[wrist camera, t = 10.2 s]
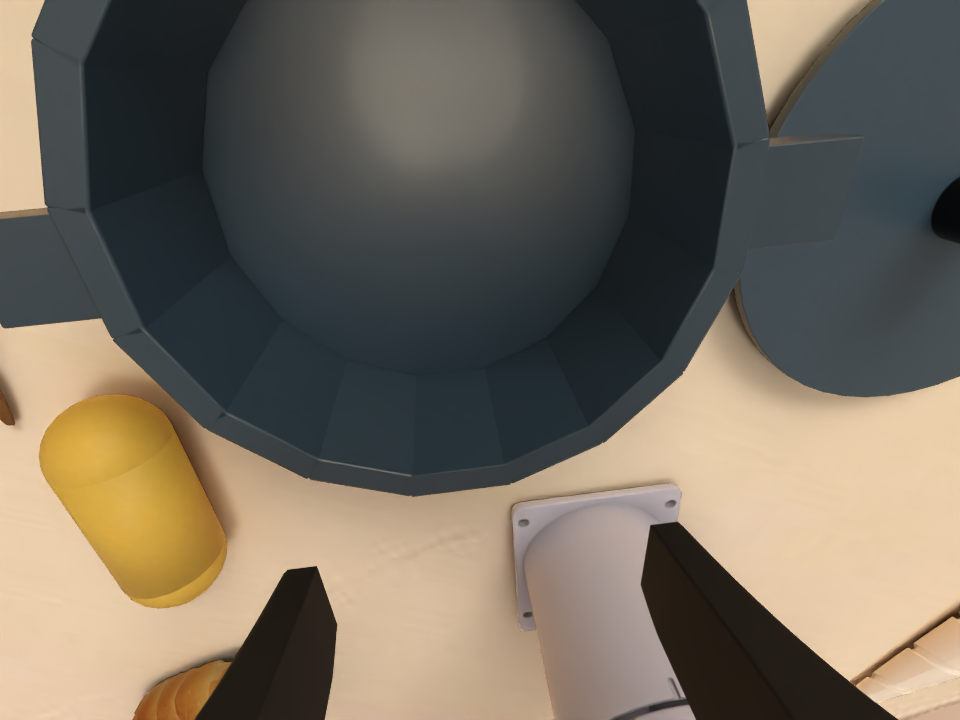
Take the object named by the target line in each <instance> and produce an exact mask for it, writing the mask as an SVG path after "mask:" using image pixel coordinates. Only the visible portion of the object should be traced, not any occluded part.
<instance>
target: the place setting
mask: <svg viewBox="0 0 960 720" xmlns="http://www.w3.org/2000/svg"><path fill="white" fill-rule="evenodd" d="M0 420H1V421H2V422H3V423H5V424H6V425H15V421H14V417H13V414H12V412H11V410H10V407H9V405H8V403H7V402H6V400H5V398H4V396H3V395H2V393H1V391H0Z"/></svg>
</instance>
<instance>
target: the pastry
mask: <svg viewBox="0 0 960 720" xmlns="http://www.w3.org/2000/svg"><path fill="white" fill-rule="evenodd" d="M231 663H232V662H223V660H218V661H215V662H212V663H207V664H205V665H204V666H202V667H200V668H195V669H192V668H191V669H190V670H189V671H187V672H185V673H182V672H180V673H179V674H178V675H175V676H173V677H170V678H168V679H166V680H165V681H163V682H162V683H160V684H158V685H156V686H155V687H154V688H153V689H152V690H151V691H150V692H149V693H148V694H146V695H145V696H144V697H143V699H142V700H141V702H140V704H139V705H138V707H137V709H136V711H135V716H134V718H133V720H194V719H195V718H196V716H197V715H198V713H199V712H200V710H201V709H202V707H203V706H204V704H205V703H206V701H207V700H208V698H209V697H210V695H211V694H212V692H213V691H214V689H215V688H216V686H217V685H218V683H219V682H220V680H221V678H222V677H223V675H224V674H225V672H226V670H227V669H228V667H229V666H230V664H231Z"/></svg>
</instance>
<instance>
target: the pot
mask: <svg viewBox="0 0 960 720" xmlns="http://www.w3.org/2000/svg"><path fill="white" fill-rule="evenodd" d="M32 37H33V38H34V39H32V41H31V45H32V57H33V69H34V80H35V92H36V104H37V116H38V128H39V140H40V152H41V164H42V176H43V187H44V199H45V205H46V206H48V207H47V208H40V209H30V210H19V211H9V212H0V324H1V325H2V327H3V328H14V327H24V326H33V325H43V324H52V323H61V322H71V321H80V320H90V319H99V318H102V320H103V322H104V324H105V326H106V328H107V330H108V332H109V334H110V336H111V337H112V338H114V339H113V341H114V342H115V343H116V344H117V345H118V346H119V347H120V348H121V349H122V350H123V351H124V352H125V353H126V354H127V355H129V356H130V357H131V358H132V359H133V360H134V361H135V362H136V363H137V364H138V365H139V366H140V367H141V368H142V369H143V370H144V371H145V372H146V373H147V374H148V375H149V376H150V377H151V378H152V379H153V380H155V381H156V382H157V383H158V384H159V385H160V386H161V387H162V388H163V389H164V390H165V391H166V392H167V393H168V394H169V395H170V396H171V397H172V398H173V399H174V400H175V401H176V402H177V403H178V404H179V405H181V406H182V407H183V408H184V409H185V410H186V411H187V412H188V413H189V414H190V415H191V416H192V417H193V418H194V419H195V420H196V421H197V422H198V423H199V424H200V425H201V426H202V427H203V428H207V430H209V431H211V432H213V433H215V434H217V435H219V436H221V437H223V438H225V439H227V440H229V441H231V442H233V443H235V444H237V445H239V446H241V447H243V448H245V449H247V450H249V451H251V452H253V453H255V454H257V455H259V456H261V457H263V458H265V459H268V460H270V461H272V462H274V463H276V464H278V465H280V466H282V467H284V468H286V469H288V470H290V471H292V472H294V473H296V474H298V475H300V476H302V477H304V478H309V479H311V480H315V481H321V482H327V483H333V484H339V485H345V486H351V487H357V488H363V489H370V490H376V491H382V492H388V493H394V494H400V495H406V496H411V495H412V497H415V496H423V495H431V494H439V493H447V492H455V491H462V490H470V489H478V488H486V487H494V486H502V485H509V484H511V483H515V482H517V481H519V480H521V479H524V478H526V477H528V476H530V475H533V474H535V473H537V472H539V471H542V470H544V469H546V468H548V467H551V466H553V465H555V464H557V463H560V462H562V461H564V460H566V459H569V458H571V457H573V456H575V455H578V454H580V453H582V452H584V451H587V450H589V449H591V448H593V447H596V446H598V445H600V444H602V442H603V443H604V442H606V441H607V440H608V439H609V438H610V437H611V436H612V435H614V434H615V433H616V432H617V431H618V430H619V429H620V428H622V427H623V426H624V425H625V424H626V423H627V422H628V421H630V420H631V419H632V418H633V417H634V416H635V415H636V414H638V413H639V412H640V411H641V410H642V409H643V408H644V407H646V406H647V405H648V404H649V403H650V402H651V401H652V400H654V399H655V398H656V397H657V396H658V395H659V394H660V393H662V392H663V391H664V390H665V389H666V388H667V387H668V386H670V385H671V384H672V383H673V382H674V381H675V380H676V379H678V378H679V377H680V376H681V375H682V374H683V371H685V369H686V368H687V366H688V364H689V363H690V361H691V359H692V357H693V356H694V354H695V352H696V351H697V349H698V347H699V346H700V344H701V342H702V341H703V339H704V337H705V336H706V334H707V332H708V330H709V329H710V327H711V325H712V324H713V322H714V320H715V319H716V317H717V315H718V314H719V312H720V310H721V308H722V307H723V305H724V303H725V302H726V300H727V298H728V297H729V295H730V293H731V292H732V290H733V288H734V287H735V285H736V283H737V281H738V280H739V278H740V276H741V275H742V271H743V270H744V269H745V264H746V259H747V254H748V249H757V248H766V247H775V246H785V245H794V244H804V243H813V242H822V241H832V240H835V238H836V235H837V232H838V228H839V225H840V221H841V218H842V214H843V211H844V207H845V204H846V200H847V197H848V193H849V190H850V186H851V183H852V179H853V176H854V172H855V169H856V166H857V162H858V159H859V155H860V152H861V148H862V145H863V141H864V136H862V135H853V134H844V133H835V132H832V133H822V134H812V135H801V136H791V137H780V138H769V134H770V133H769V127H768V121H767V116H766V110H765V104H764V98H763V92H762V87H761V81H760V75H759V69H758V63H757V58H756V52H755V46H754V40H753V34H752V29H751V23H750V17H749V11H748V6H747V0H45V2H44V4H43V7H42V9H41V12H40V14H39V17H38V19H37V22H36V24H35V27H34V29H33V32H32Z"/></svg>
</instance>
